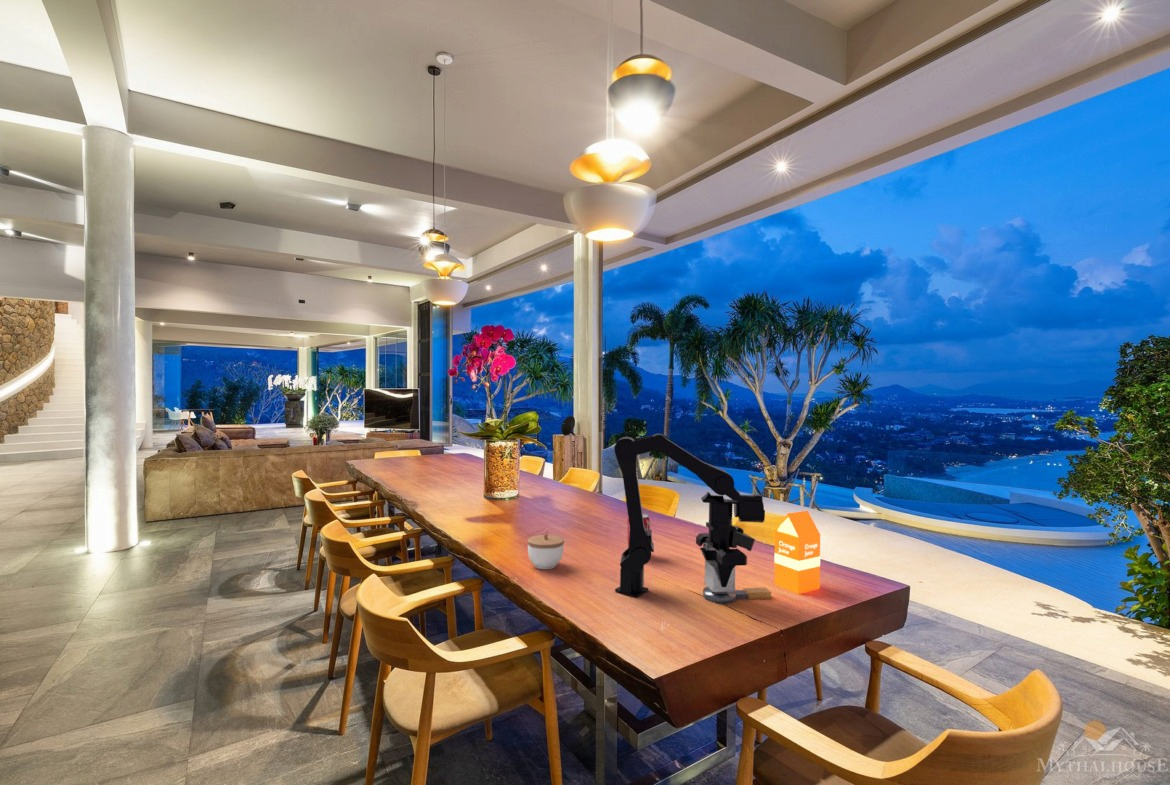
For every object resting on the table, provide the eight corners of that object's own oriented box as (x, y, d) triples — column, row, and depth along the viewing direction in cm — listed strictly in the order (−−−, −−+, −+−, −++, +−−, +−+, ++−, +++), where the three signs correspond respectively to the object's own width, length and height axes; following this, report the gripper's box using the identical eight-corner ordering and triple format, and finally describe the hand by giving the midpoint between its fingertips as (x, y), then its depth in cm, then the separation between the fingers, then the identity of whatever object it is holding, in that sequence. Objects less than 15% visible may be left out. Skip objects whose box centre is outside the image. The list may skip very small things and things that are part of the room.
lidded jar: (525, 561, 151) (525, 530, 151) (560, 559, 153) (560, 528, 154) (529, 573, 141) (529, 539, 141) (566, 571, 143) (567, 538, 143)
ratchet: (710, 604, 121) (710, 586, 121) (698, 591, 129) (698, 574, 129) (776, 602, 123) (776, 584, 123) (760, 590, 131) (760, 572, 131)
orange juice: (820, 588, 133) (821, 513, 133) (798, 594, 129) (799, 516, 129) (795, 579, 140) (795, 507, 140) (773, 584, 135) (774, 510, 136)
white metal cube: (734, 591, 123) (735, 567, 123) (713, 592, 123) (713, 567, 123) (725, 583, 129) (726, 559, 129) (704, 583, 128) (705, 560, 128)
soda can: (651, 560, 154) (651, 517, 154) (627, 559, 154) (628, 517, 154) (648, 553, 161) (649, 512, 161) (626, 552, 161) (627, 512, 162)
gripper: (768, 529, 118) (767, 596, 117) (735, 511, 136) (734, 569, 136) (723, 530, 116) (722, 597, 116) (695, 512, 135) (694, 570, 135)
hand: (719, 582), depth 126 cm, fingers closed on white metal cube, 5 cm apart
